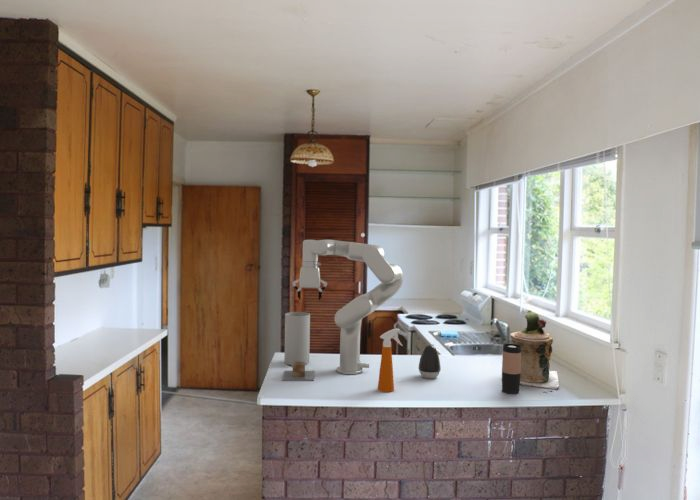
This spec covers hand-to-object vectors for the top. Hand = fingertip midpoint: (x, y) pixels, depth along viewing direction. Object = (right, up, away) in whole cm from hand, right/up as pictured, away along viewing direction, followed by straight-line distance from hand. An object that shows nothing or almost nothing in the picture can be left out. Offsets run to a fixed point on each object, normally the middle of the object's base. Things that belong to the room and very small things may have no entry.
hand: (309, 299), depth 254 cm
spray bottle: (+37, -36, -33) cm, 61 cm away
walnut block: (-4, -33, -16) cm, 37 cm away
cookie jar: (+104, -36, -13) cm, 111 cm away
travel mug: (+89, -37, -32) cm, 102 cm away
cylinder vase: (-7, -33, +7) cm, 35 cm away
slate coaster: (-4, -34, -16) cm, 38 cm away
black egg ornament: (+57, -35, -12) cm, 68 cm away
